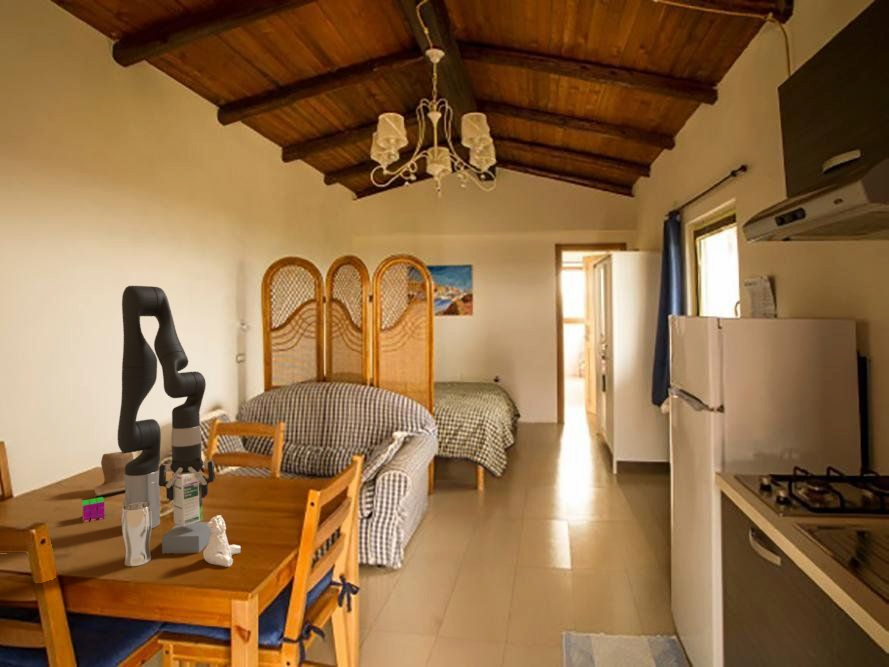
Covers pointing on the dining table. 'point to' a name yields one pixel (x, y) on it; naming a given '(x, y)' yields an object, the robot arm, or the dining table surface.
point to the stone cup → (113, 473)
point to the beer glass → (137, 532)
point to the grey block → (186, 538)
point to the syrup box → (187, 499)
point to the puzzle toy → (93, 508)
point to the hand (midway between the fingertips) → (187, 498)
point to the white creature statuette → (219, 544)
